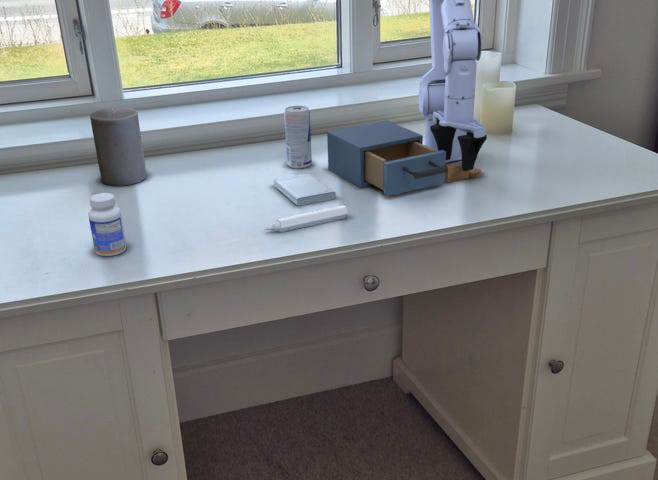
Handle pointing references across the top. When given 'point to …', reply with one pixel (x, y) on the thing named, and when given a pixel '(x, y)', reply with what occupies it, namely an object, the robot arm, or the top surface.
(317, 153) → the top surface
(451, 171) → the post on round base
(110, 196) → the pill bottle
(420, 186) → the drawer
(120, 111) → the pillar candle
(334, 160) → the cabinet
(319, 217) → the marker
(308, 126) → the energy drink
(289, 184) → the hard drive
